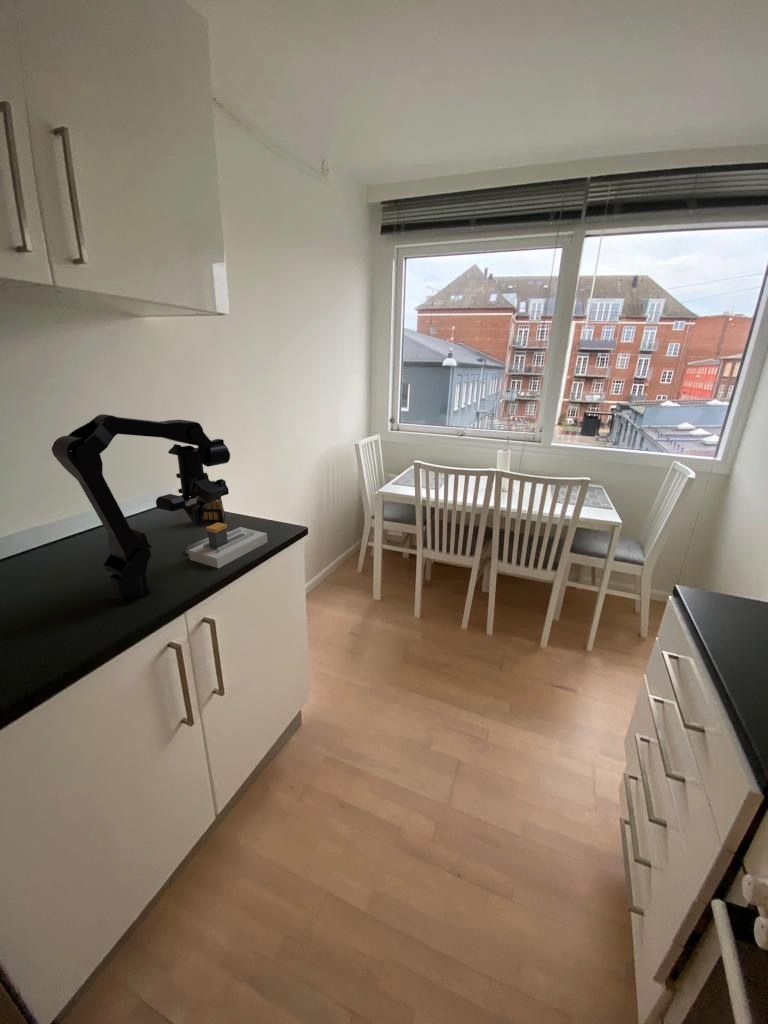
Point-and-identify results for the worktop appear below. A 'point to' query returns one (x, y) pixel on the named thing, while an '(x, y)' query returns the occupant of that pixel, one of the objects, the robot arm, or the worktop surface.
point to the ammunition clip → (214, 512)
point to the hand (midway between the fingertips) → (197, 526)
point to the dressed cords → (197, 544)
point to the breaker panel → (228, 547)
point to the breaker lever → (217, 535)
